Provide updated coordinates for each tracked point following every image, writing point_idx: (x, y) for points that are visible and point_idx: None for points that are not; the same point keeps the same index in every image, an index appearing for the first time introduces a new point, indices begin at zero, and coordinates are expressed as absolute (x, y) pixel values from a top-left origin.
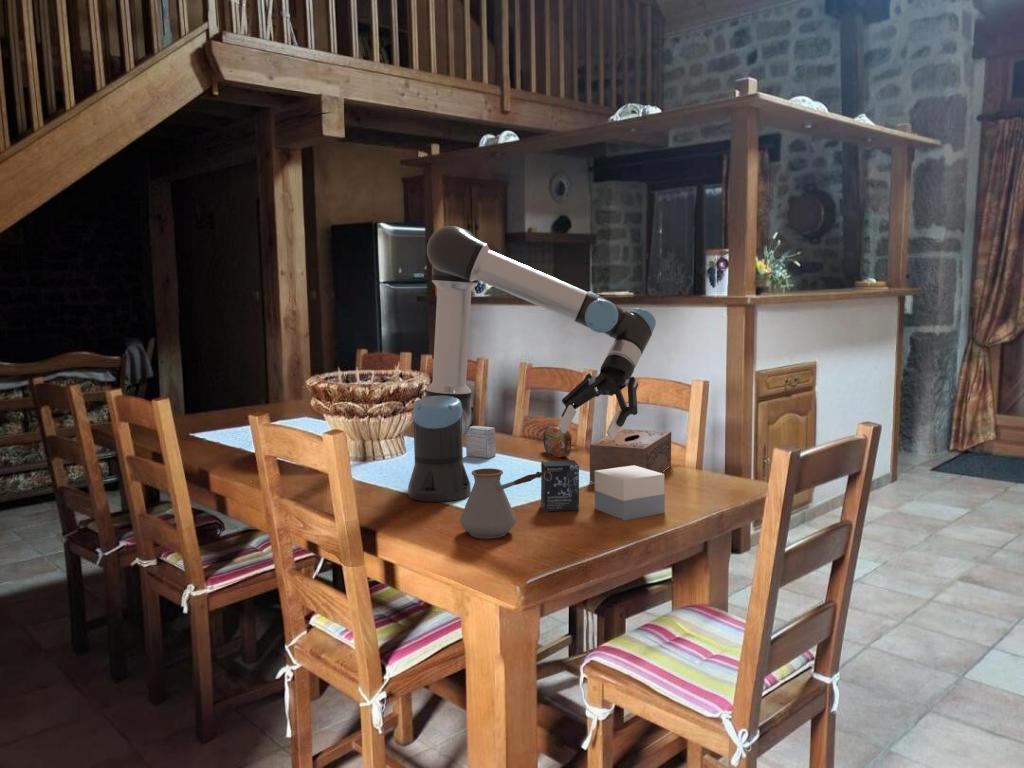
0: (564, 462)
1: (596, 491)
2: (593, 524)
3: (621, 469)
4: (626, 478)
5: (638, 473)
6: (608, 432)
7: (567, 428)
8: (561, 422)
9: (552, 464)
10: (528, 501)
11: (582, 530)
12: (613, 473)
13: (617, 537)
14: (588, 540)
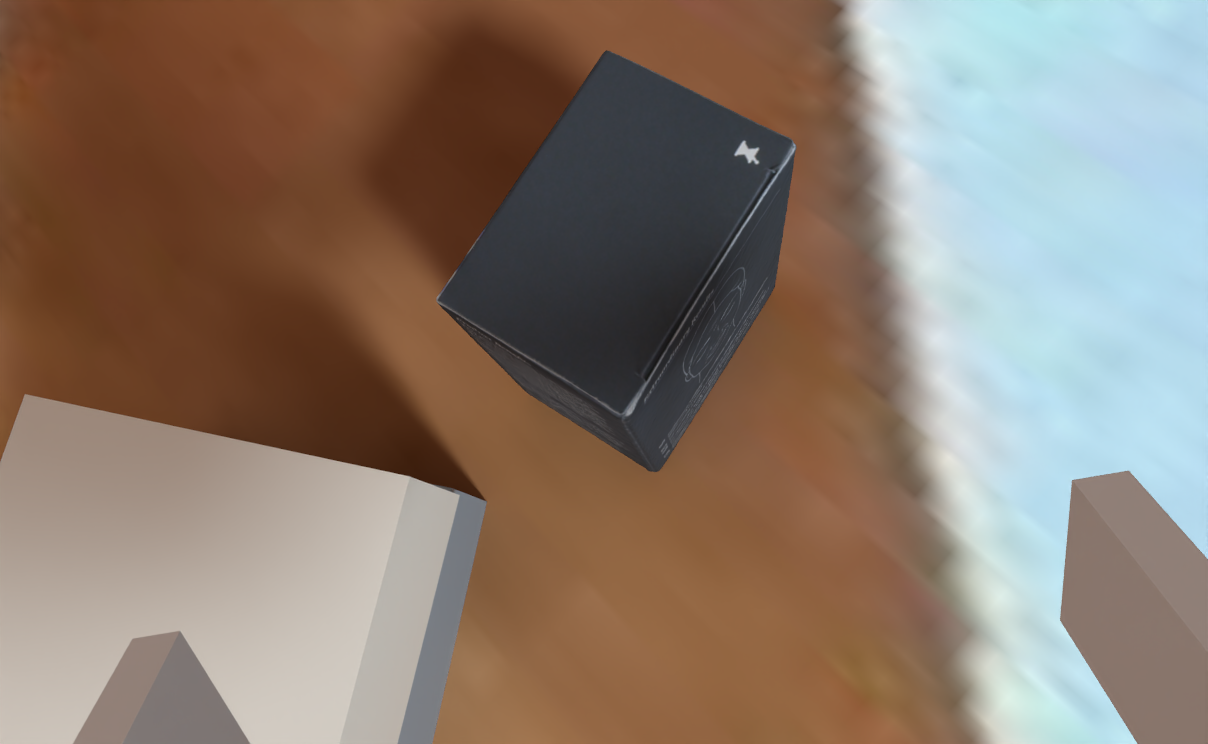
0: (591, 258)
1: (432, 484)
2: (274, 255)
3: (260, 699)
4: (37, 455)
5: (57, 681)
6: (139, 640)
7: (1106, 687)
8: (1147, 537)
9: (607, 126)
10: (926, 300)
11: (249, 141)
12: (220, 516)
13: (52, 191)
14: (130, 60)
